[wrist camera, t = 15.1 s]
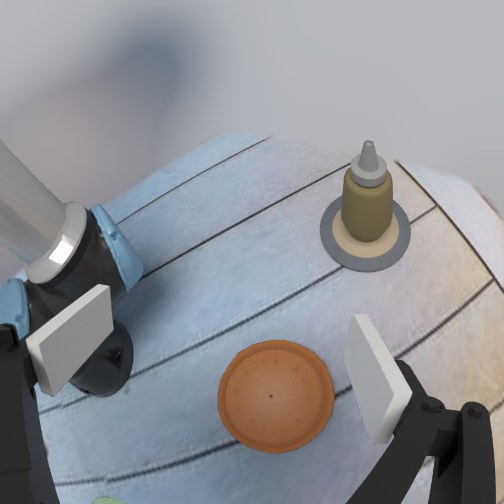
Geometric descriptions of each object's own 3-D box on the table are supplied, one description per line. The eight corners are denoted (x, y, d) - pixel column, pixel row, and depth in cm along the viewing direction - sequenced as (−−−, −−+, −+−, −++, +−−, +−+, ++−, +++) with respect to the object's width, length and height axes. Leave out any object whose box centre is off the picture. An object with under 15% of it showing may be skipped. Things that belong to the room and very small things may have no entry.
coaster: (301, 236, 51) (301, 233, 51) (356, 180, 54) (356, 177, 53) (374, 291, 44) (374, 289, 43) (425, 224, 46) (426, 221, 45)
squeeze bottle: (355, 199, 51) (352, 115, 36) (398, 219, 47) (411, 136, 32) (332, 235, 49) (321, 153, 34) (376, 258, 45) (387, 179, 30)
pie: (341, 350, 41) (341, 343, 37) (323, 457, 35) (321, 463, 30) (238, 338, 46) (226, 330, 42) (217, 436, 40) (203, 438, 35)
